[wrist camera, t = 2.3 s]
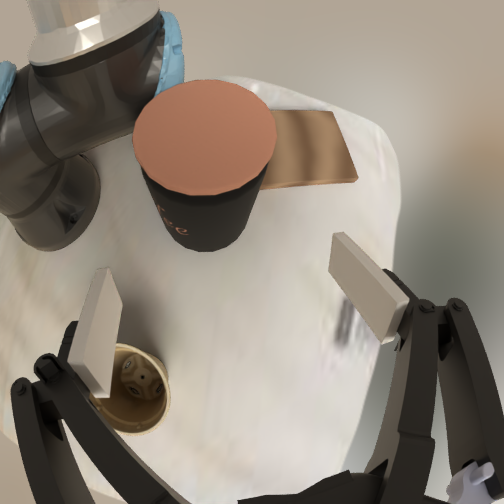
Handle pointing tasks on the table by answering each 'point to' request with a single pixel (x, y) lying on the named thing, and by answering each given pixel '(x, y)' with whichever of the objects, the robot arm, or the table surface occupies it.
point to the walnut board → (308, 151)
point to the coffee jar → (204, 159)
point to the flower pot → (126, 401)
